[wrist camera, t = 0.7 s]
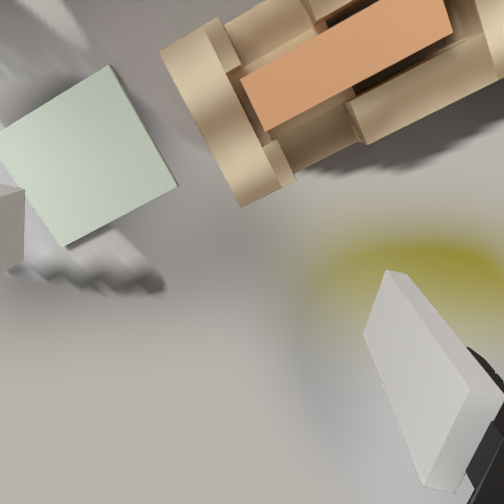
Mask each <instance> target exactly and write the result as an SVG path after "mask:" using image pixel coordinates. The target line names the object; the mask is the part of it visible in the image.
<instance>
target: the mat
mask: <svg viewBox="0 0 504 504" xmlns="http://www.w3.org/2000/svg"><path fill="white" fill-rule="evenodd" d="M0 160H1V162H2V163H3V165H4V166H5V168H6V169H7V170H8V172H9V173H10V175H11V176H12V178H13V179H14V181H15V182H16V183H17V185H18V186H19V188H22V189H25V196H26V198H27V199H28V201H29V202H30V204H31V205H32V206H33V208H34V209H35V211H36V212H37V214H38V215H39V217H40V218H41V219H42V221H43V222H44V224H45V225H46V227H47V228H48V229H49V231H50V232H51V234H52V235H53V237H54V238H55V240H56V241H57V242H58V244H59V245H60V247H61V248H62V247H64V246H66V245H68V244H70V243H71V242H73V241H75V240H77V239H79V238H81V237H83V236H85V235H87V234H89V233H90V232H92V231H94V230H96V229H98V228H100V227H102V226H104V225H106V224H108V223H110V222H111V221H113V220H115V219H117V218H119V217H121V216H123V215H125V214H127V213H128V212H130V211H132V210H134V209H136V208H138V207H140V206H142V205H144V204H146V203H148V202H149V201H151V200H153V199H155V198H157V197H159V196H161V195H163V194H165V193H167V192H169V191H170V190H172V189H174V188H176V187H178V186H179V185H178V183H177V181H176V179H175V178H174V176H173V174H172V172H171V170H170V169H169V167H168V165H167V163H166V162H165V160H164V158H163V156H162V155H161V153H160V151H159V150H158V148H157V146H156V144H155V142H154V141H153V139H152V137H151V135H150V134H149V132H148V130H147V128H146V127H145V125H144V123H143V121H142V120H141V118H140V116H139V114H138V113H137V111H136V109H135V107H134V106H133V104H132V102H131V100H130V98H129V97H128V95H127V93H126V91H125V90H124V88H123V86H122V84H121V83H120V81H119V79H118V77H117V76H116V74H115V72H114V70H113V69H112V67H111V65H107V66H105V67H104V68H102V69H101V70H99V71H97V72H96V73H94V74H92V75H91V76H89V77H88V78H86V79H84V80H83V81H81V82H80V83H78V84H76V85H75V86H73V87H71V88H70V89H68V90H66V91H65V92H63V93H62V94H60V95H58V96H57V97H55V98H54V99H52V100H50V101H49V102H47V103H45V104H44V105H42V106H41V107H39V108H37V109H36V110H34V111H32V112H31V113H29V114H28V115H26V116H24V117H23V118H21V119H19V120H18V121H16V122H15V123H13V124H11V125H10V126H8V127H7V128H5V129H3V130H2V131H0Z"/></svg>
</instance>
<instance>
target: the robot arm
mask: <svg viewBox="0 0 504 504" xmlns="http://www.w3.org/2000/svg"><path fill="white" fill-rule="evenodd" d="M24 217H25V189H22V188H18V187H13V186H9V185H4V184H3V185H0V274H2V273H3V272H5V271H7V270H8V269H10V268H12V267H13V266H15V265H17V264H18V263H20V262H22V261H23V255H24ZM363 336H364V339H365V341H366V344H367V346H368V349H369V352H370V354H371V357H372V359H373V362H374V364H375V367H376V369H377V372H378V374H379V377H380V379H381V382H382V384H383V387H384V389H385V392H386V395H387V397H388V400H389V402H390V404H391V407H392V410H393V412H394V415H395V417H396V419H397V422H398V425H399V427H400V430H401V432H402V435H403V437H404V440H405V443H406V445H407V448H408V450H409V453H410V455H411V458H412V460H413V463H414V465H415V468H416V470H417V473H418V475H419V478H420V480H421V483H422V486H423V487H427V488H432V489H437V490H441V491H446V492H451V493H456V491H457V489H458V488H459V486H460V484H461V482H462V480H463V478H464V476H465V474H466V473H467V475H468V477H469V479H470V481H471V483H472V485H473V487H474V489H475V490H474V492H473V493H472V495H471V497H470V499H469V501H468V502H467V504H504V383H503V380H502V379H501V378H500V376H499V375H498V374H496V373H495V371H494V369H493V368H492V367H491V366H490V365H489V364H488V362H487V361H486V360H485V359H484V358H483V357H481V356H480V355H478V354H477V353H476V352H475V351H473V350H472V349H470V348H469V347H465V345H464V344H463V343H462V342H461V341H460V339H459V338H458V337H457V336H456V334H455V333H454V332H453V331H452V329H451V328H450V327H449V326H448V325H447V323H446V322H445V321H444V320H443V318H442V317H441V316H440V314H439V313H438V312H437V311H436V310H435V308H434V307H433V306H432V305H431V303H430V302H429V301H428V300H427V298H426V297H425V296H424V295H423V294H422V292H421V291H420V290H419V289H418V287H417V286H416V285H415V284H414V282H413V281H412V280H411V279H410V278H409V276H408V275H407V274H404V273H400V272H396V271H391V270H387V269H386V271H385V274H384V277H383V279H382V282H381V285H380V288H379V290H378V293H377V296H376V299H375V302H374V305H373V307H372V310H371V313H370V316H369V319H368V321H367V324H366V327H365V330H364V333H363Z"/></svg>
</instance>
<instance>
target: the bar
mask: <svg viewBox="0 0 504 504" xmlns="http://www.w3.org/2000/svg"><path fill="white" fill-rule="evenodd" d="M451 33H453V30H452V27H451V24H450V21H449V18H448V14H447V11H446V8H445V5H444V2H443V0H379V1H378V2H376V3H374V4H372V5H371V6H369V7H367V8H365V9H363V10H362V11H360V12H358V13H356V14H355V15H353V16H351V17H349V18H348V19H346V20H344V21H342V22H340V23H339V24H337V25H335V26H333V27H332V28H330V29H328V30H326V31H325V32H323V33H321V34H319V35H317V36H316V37H314V38H312V39H310V40H309V41H307V42H305V43H303V44H302V45H300V46H298V47H296V48H294V49H293V50H291V51H289V52H287V53H286V54H284V55H282V56H280V57H279V58H277V59H275V60H273V61H271V62H270V63H268V64H266V65H264V66H263V67H261V68H259V69H257V70H256V71H254V72H252V73H250V74H248V75H247V76H245V77H243V78H241V79H240V81H241V83H242V85H243V87H244V89H245V91H246V93H247V95H248V97H249V99H250V101H251V104H252V106H253V108H254V110H255V112H256V114H257V116H258V118H259V120H260V122H261V124H262V126H263V128H264V130H265V132H266V131H268V130H270V129H272V128H274V127H276V126H278V125H279V124H281V123H283V122H285V121H287V120H289V119H291V118H293V117H294V116H296V115H298V114H300V113H302V112H304V111H306V110H308V109H310V108H311V107H313V106H315V105H317V104H319V103H321V102H323V101H325V100H327V99H328V98H330V97H332V96H334V95H336V94H338V93H340V92H342V91H344V90H345V89H347V88H349V87H351V86H353V85H355V84H357V83H359V82H361V81H362V80H364V79H366V78H368V77H370V76H372V75H374V74H376V73H378V72H379V71H381V70H383V69H385V68H387V67H389V66H391V65H393V64H395V63H396V62H398V61H400V60H402V59H404V58H406V57H408V56H410V55H412V54H413V53H415V52H417V51H419V50H421V49H423V48H425V47H427V46H428V45H430V44H432V43H434V42H436V41H438V40H440V39H442V38H444V37H445V36H447V35H449V34H451Z"/></svg>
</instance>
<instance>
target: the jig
mask: <svg viewBox="0 0 504 504" xmlns="http://www.w3.org/2000/svg"><path fill="white" fill-rule="evenodd" d="M378 1H379V0H265V1H263V2H262V3H260V4H258V5H256V6H255V7H253V8H251V9H250V10H248V11H246V12H245V13H243V14H241V15H240V16H238V17H236V18H235V19H233V20H231V21H230V22H228V23H226V24H225V25H223V24H222V22H221V20H220V18H219V17H218V16H217V17H215V18H214V19H212V20H210V21H209V22H207V23H205V24H204V25H202V26H200V27H199V28H197V29H195V30H194V31H192V32H191V33H189V34H187V35H186V36H184V37H182V38H181V39H179V40H177V41H176V42H174V43H172V44H171V45H169V46H167V47H166V48H164V49H163V50H161V51H159V52H158V53H159V54H160V56H161V58H162V60H163V62H164V64H165V66H166V68H167V69H168V71H169V73H170V75H171V77H172V79H173V81H174V83H175V85H176V86H177V88H178V90H179V92H180V94H181V96H182V98H183V100H184V101H185V103H186V105H187V107H188V109H189V111H190V113H191V115H192V117H193V118H194V120H195V122H196V124H197V126H198V128H199V130H200V132H201V134H202V135H203V137H204V139H205V141H206V143H207V145H208V147H209V149H210V150H211V152H212V154H213V156H214V158H215V160H216V162H217V163H218V165H219V167H220V169H221V171H222V173H223V175H224V177H225V179H226V181H227V182H228V184H229V186H230V188H231V190H232V192H233V194H234V196H235V198H236V199H237V201H238V203H239V205H240V207H241V208H242V207H243V206H246V205H248V204H250V203H252V202H254V201H256V200H258V199H260V198H262V197H264V196H266V195H268V194H270V193H272V192H274V191H276V190H278V189H280V188H282V187H284V186H286V185H288V184H290V183H292V182H294V181H296V178H295V175H294V173H296V172H298V171H300V170H302V169H304V168H306V167H308V166H310V165H312V164H314V163H316V162H318V161H320V160H322V159H324V158H326V157H328V156H330V155H332V154H334V153H336V152H338V151H340V150H342V149H344V148H346V147H348V146H350V145H352V144H354V143H356V142H361V143H363V144H366V145H369V144H371V143H373V142H375V141H377V140H379V139H381V138H383V137H385V136H387V135H389V134H391V133H393V132H395V131H397V130H399V129H401V128H403V127H405V126H407V125H409V124H411V123H413V122H415V121H417V120H419V119H421V118H423V117H425V116H427V115H429V114H431V113H433V112H435V111H437V110H439V109H441V108H443V107H445V106H447V105H449V104H451V103H453V102H455V101H457V100H459V99H461V98H463V97H466V96H468V95H470V94H472V93H474V92H476V91H478V90H480V89H482V88H484V87H486V86H488V85H490V84H492V83H494V82H496V81H498V80H500V79H502V78H504V0H443V2H444V5H445V8H446V11H447V14H448V18H449V21H450V24H451V27H452V30H453V33H451V34H449V35H447V36H445V37H444V38H442V39H440V40H438V41H436V42H434V43H432V44H430V45H428V46H427V47H425V48H423V49H421V50H419V51H417V52H415V53H413V54H412V55H410V56H408V57H406V58H404V59H402V60H400V61H398V62H396V63H395V64H393V65H391V66H389V67H387V68H385V69H383V70H381V71H379V72H378V73H376V74H374V75H372V76H370V77H368V78H366V79H364V80H362V81H361V82H359V83H357V84H355V85H353V86H351V87H349V88H347V89H345V90H344V91H342V92H340V93H338V94H336V95H334V96H332V97H330V98H328V99H327V100H325V101H323V102H321V103H319V104H317V105H315V106H313V107H311V108H310V109H308V110H306V111H304V112H302V113H300V114H298V115H296V116H294V117H293V118H291V119H289V120H287V121H285V122H283V123H281V124H279V125H278V126H276V127H274V128H272V129H270V130H268V131H266V132H265V130H264V128H263V126H262V124H261V122H260V120H259V118H258V116H257V114H256V112H255V110H254V108H253V106H252V104H251V101H250V99H249V97H248V95H247V93H246V91H245V89H244V87H243V85H242V83H241V81H240V79H241V78H243V77H245V76H247V75H248V74H250V73H252V72H254V71H256V70H257V69H259V68H261V67H263V66H264V65H266V64H268V63H270V62H271V61H273V60H275V59H277V58H279V57H280V56H282V55H284V54H286V53H287V52H289V51H291V50H293V49H294V48H296V47H298V46H300V45H302V44H303V43H305V42H307V41H309V40H310V39H312V38H314V37H316V36H317V35H319V34H321V33H323V32H325V31H326V30H328V29H330V28H332V27H333V26H335V25H337V24H339V23H340V22H342V21H344V20H346V19H348V18H349V17H351V16H353V15H355V14H356V13H358V12H360V11H362V10H363V9H365V8H367V7H369V6H371V5H372V4H374V3H376V2H378Z"/></svg>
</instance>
